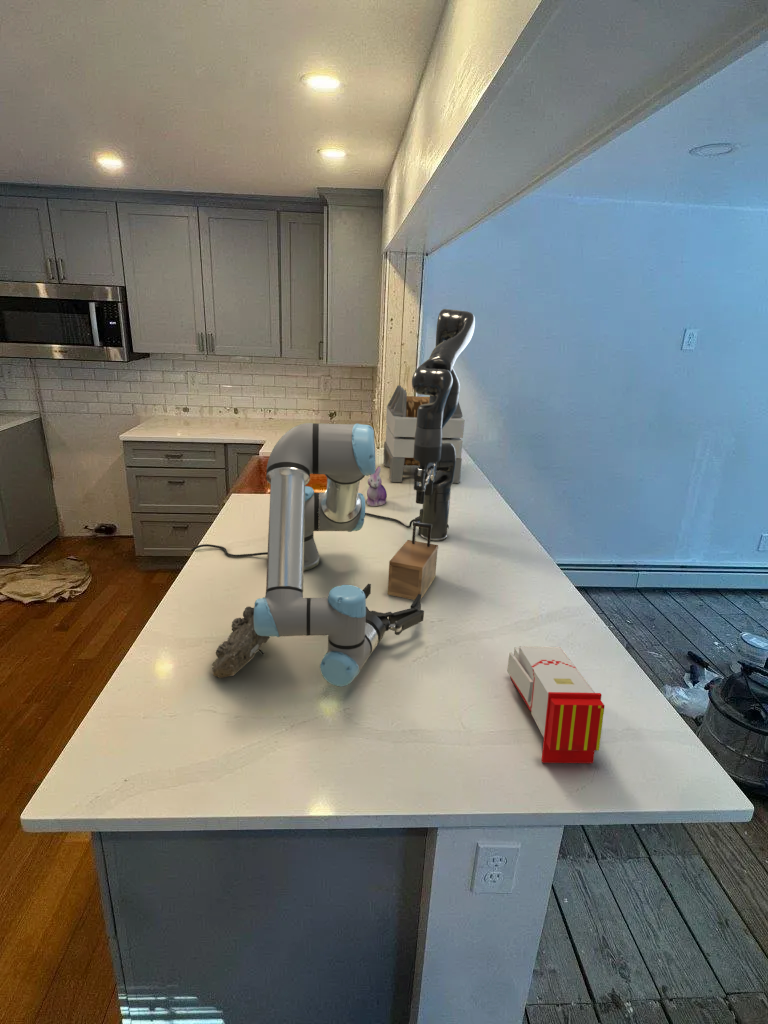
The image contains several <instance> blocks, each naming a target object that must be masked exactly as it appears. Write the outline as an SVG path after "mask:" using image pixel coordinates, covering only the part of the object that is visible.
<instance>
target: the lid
mask: <svg viewBox="0 0 768 1024" xmlns="http://www.w3.org/2000/svg"><path fill="white" fill-rule="evenodd" d="M411 526H412V537H411V539H407V540H406V541H405V542H404V543H403V545H401V547H400V548H399V549H398V550H397V552H396V553H395V554H394V555H393V557H391V559H390V560H389V562H388V566H389V565H393V566H398V567H403V568H409V569H414V570H419V571H423V569H424V568H425V566H426V565H427V564H428V562H429V561H430V559H431V558H432V556H433V555H434V553H435V552H436V551H437V552H438V549H439V544H435V543H431V540H430V539H431V529H432V524H428V523H422V522H416V521H413V522H412V525H411ZM419 527H423V528H428V540H427V542H423V541H417V540H416V533H417V532H416V531H417V528H419Z"/></svg>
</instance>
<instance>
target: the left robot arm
mask: <svg viewBox="0 0 768 1024" xmlns="http://www.w3.org/2000/svg"><path fill="white" fill-rule="evenodd" d="M376 466H377V463H376V443H375V430H374V428H373V427H372V426H371V425H369V424H361V423H359V422H358V423H355V424H354V423H314V422H305V423H301V424H298V425H296V426H294V427H292V428H290V429H288V430H287V431H286V432H285V433H284V434H283V435H282V436H281V437H280V439H279V440H278V441H277V442H276V443H275V444H274V446H273V448H272V450H271V452H270V455H269V457H268V460H267V464H266V475H265V479H266V481H267V483H268V484H269V485H270V490H269V491H270V492H269V511H268V512H269V513H268V514H269V516H268V535H267V537H268V538H267V551H265V552H255V553H243V554H242V553H241V554H233V553H229V552H228V550H227V549H226V547H224V546H222V545H216V544H209V543H206V544H204V543H203V544H198V545H195V546H194V547H192V548H191V549H190V551H191V552H193V551H195V550H197V549H199V548H204V547H209V548H215V549H221V550H223V552H224V553H225V555H226V556H228V557H232V558H244V557H256V556H265V555H267V556H266V557H267V558H266V581H265V595H264V597H261V598H256V600H255V602H254V607H253V608H254V630H255V632H256V634H257V635H260V636H270V637H276V638H280V637H281V638H282V637H308V636H309V637H312V636H314V637H315V636H316V637H319V636H320V637H321V636H327V642H328V643H327V652H326V653H325V654H324V655H323V657H322V659H321V662H320V664H319V670H320V673H321V676H322V677H323V678H324V680H325V681H327V682H328V683H329V684H330V685H333V686H336V687H346V686H348V685H350V684H351V683H352V682H353V681H354V680H355V678H357V676H358V675H359V674H360V672H361V670H362V669H363V667H364V666H365V664H366V662H367V660H368V659H369V657H370V656H371V655H372V653H373V652H374V650H375V649H376V648H377V646H378V644H380V641H381V640H382V639H383V638H384V635H385V633H386V632H388V631H389V630H390V631H393V632H394V635H396V636H400V635H401V634H402V632H404V631H406V630H408V629H410V628H412V627H415V626H416V625H418V624H421V623H422V622H424V620H425V619H424V616H425V610H423V609H422V599H421V594H418V595H417V597H416V598H415V600H413V601H412V603H411V605H410V607H409V608H406V609H403V610H399V611H393V612H392V611H387V612H379V611H376V610H370V609H369V608H368V606H367V598H368V597H370V595H371V592H372V591H371V590H372V584H371V583H367V584H366V585H365V587H363V589H361V588H360V587H358V586H356V585H353V584H341V585H337V586H334V587H332V588H331V589H330V590H329V592H328V595H327V597H304V572H306V571H310V570H312V569H314V568H315V567H317V566H318V565H319V564H320V553H319V550H318V547H317V544H316V542H315V539H314V538H315V537H314V532H348V533H351V532H358V531H360V530H362V528H363V526H364V523H365V518H366V515H365V513H366V498H365V496H364V494H363V493H362V492H359V489H360V482H361V481H362V480H363V479H364V478H365V477H367V476H370V475H373V474H374V473H375V471H376V469H377V468H376ZM311 475H325V477H326V490H324V492H322V491H321V492H315V490H314V489H313V487H312V486H309V485H308V484H309V483H310V480H311Z"/></svg>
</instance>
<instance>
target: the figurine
mask: <svg viewBox="0 0 768 1024" xmlns="http://www.w3.org/2000/svg"><path fill="white" fill-rule="evenodd" d="M381 469H382V468H381V466H378V467H377V468H376V469H375V473H374V474H373V475H369V477H368V479H367V484H368V488H367V491H366V497H367V498H366V500H365V503H366V504H367V506H370V507H377V506H383V505H385V504H386V502H387V496H388V494H387V493H388V492H387V490H386V488H385V486H384V485H383V484H382V478H381V475H380V474H381Z"/></svg>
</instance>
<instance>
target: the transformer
mask: <svg viewBox="0 0 768 1024" xmlns="http://www.w3.org/2000/svg"><path fill="white" fill-rule="evenodd" d="M407 394H408V393H407V390H406V389H404V388H403V387H402V385H399V384H398V385H397V386H396V388H395V390H394V392H393V394H392V395H391V398H390V400H389V402H388V404H387V405H386V413H385V414H386V415H385V423H386V428H385V438H384V442H383V466H384V467H388V468H389V475H388V476H389V477H388V478H389V480H390V482H391V483H402V482H403V475H404V469H405V466H406V467H407V466H411V467H412V466H413V467H415V466H416V467H419V465H420V462H419V461H416V460H415V459H414V441H415V431H416V423H417V410H418V407H419V406H420V405H422V404H429V399H430V396H415V395H414V396H413V395H412V396H411V395H407ZM464 429H465V419H464V418H463V411H462V408H461V405H460V402H459V401H458V406H457V408H456V410H455V412H454V414H453V415H452V416H451V418H450V419H449V420H448V422H447V423H446V424H445V426H444V427H443V429H442V443H451V444H452V445H453V446H454V448H455V452H456V462H455V469H454V476H453V483H452V484H455V483H456V484H459V483H461V472H462V461H463V460H462V453H463V442H464V441H463V440H462V439H463V438H464V431H465V430H464Z"/></svg>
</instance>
